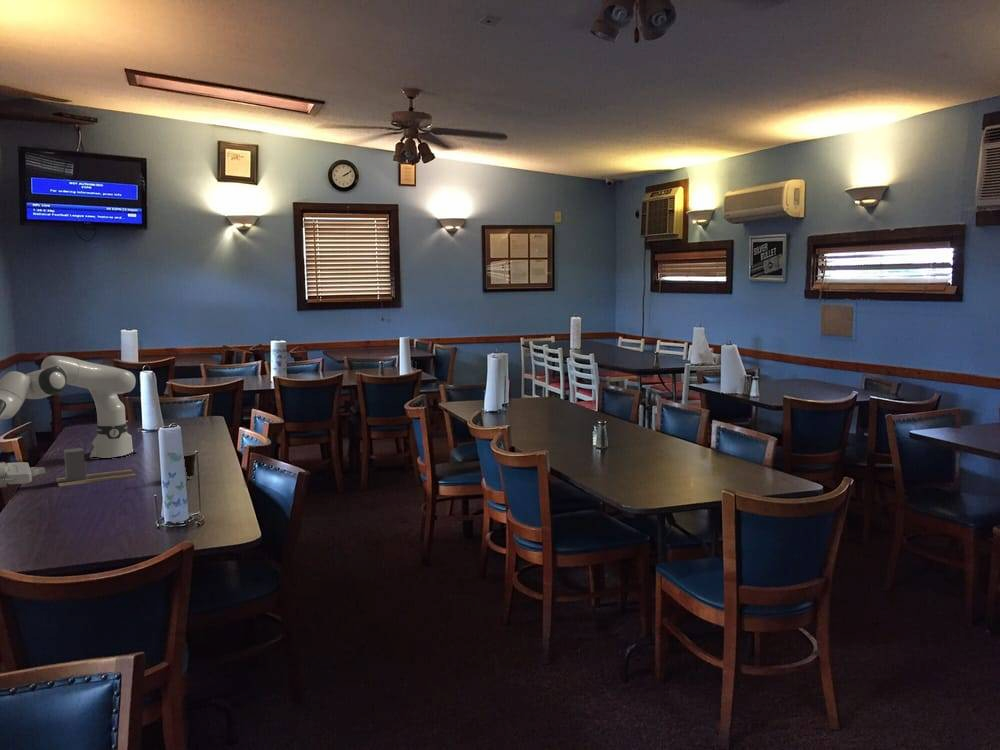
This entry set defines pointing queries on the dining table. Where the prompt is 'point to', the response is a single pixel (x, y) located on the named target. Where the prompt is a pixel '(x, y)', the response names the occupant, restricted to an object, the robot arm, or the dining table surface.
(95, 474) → the chute
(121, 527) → the dining table surface
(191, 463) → the coffee mug
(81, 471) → the block
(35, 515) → the dining table surface
